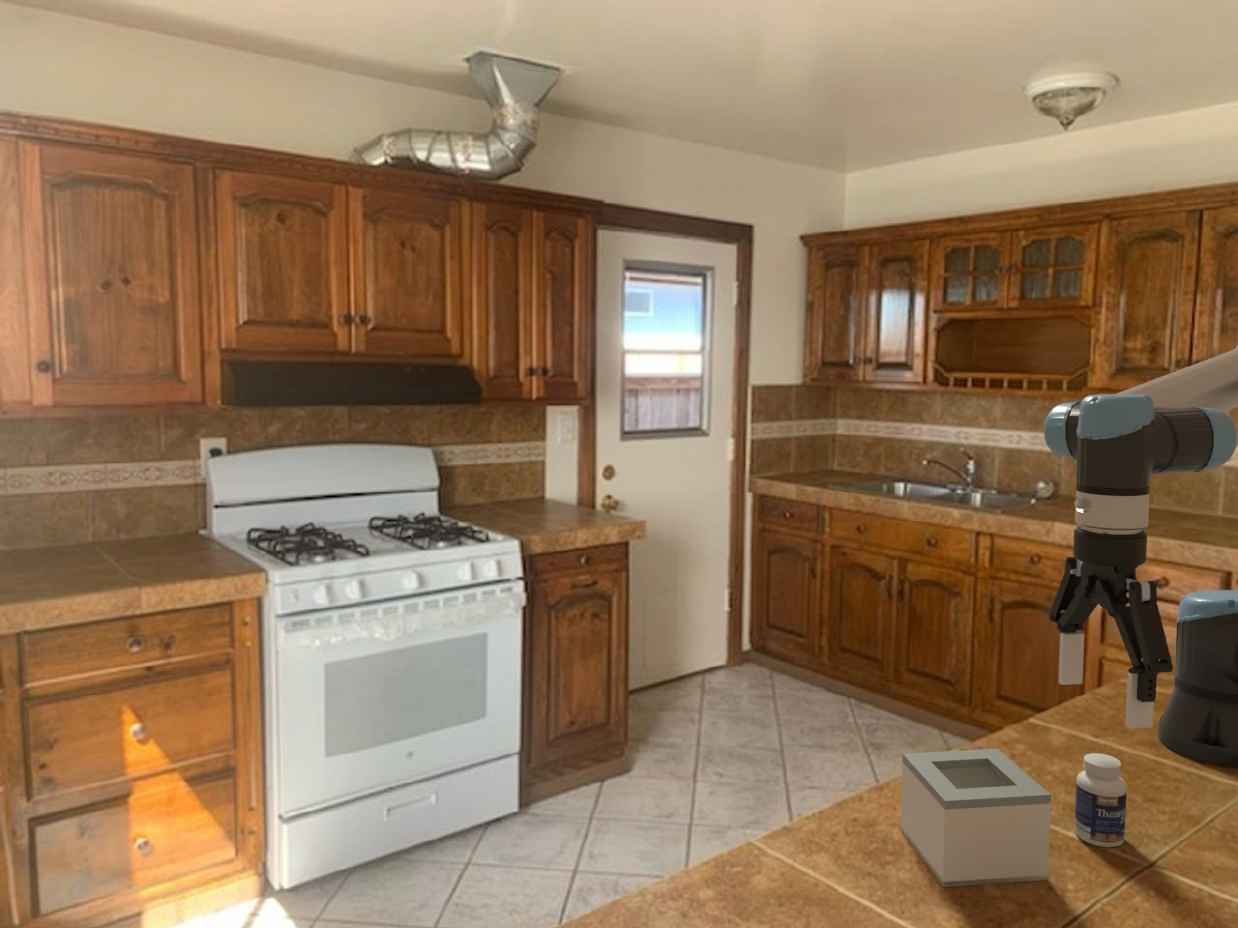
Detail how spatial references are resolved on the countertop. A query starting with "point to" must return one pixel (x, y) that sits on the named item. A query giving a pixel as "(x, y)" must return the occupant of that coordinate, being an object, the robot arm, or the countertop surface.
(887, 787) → the countertop surface
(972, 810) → the drop box
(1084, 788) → the pill bottle
